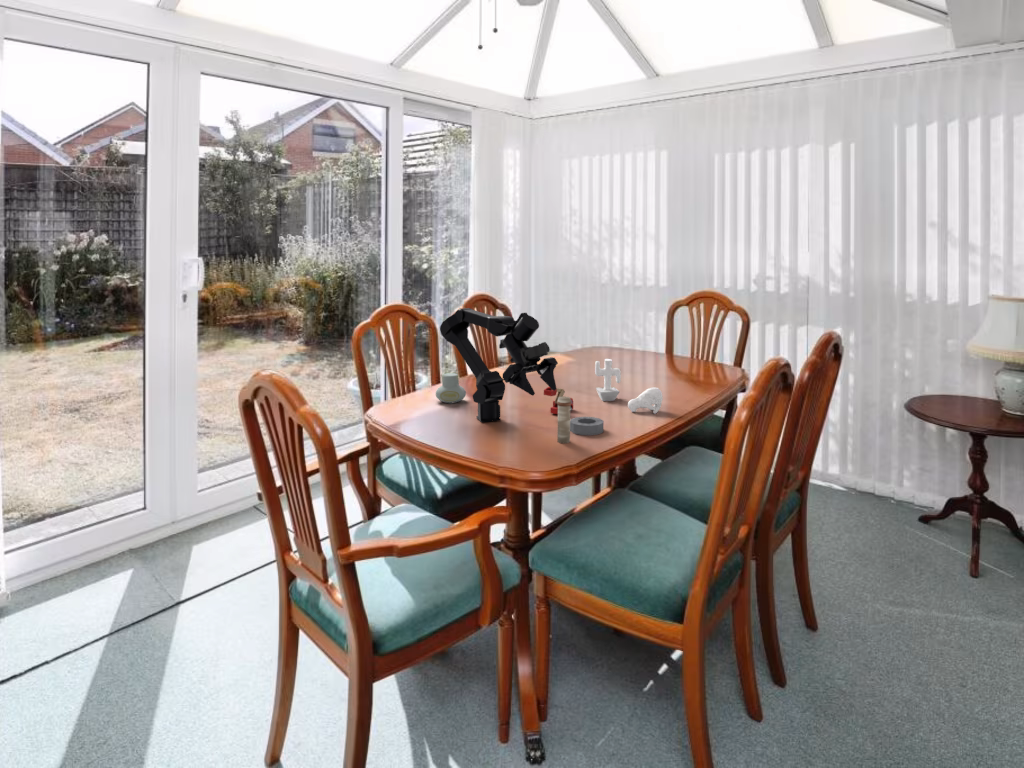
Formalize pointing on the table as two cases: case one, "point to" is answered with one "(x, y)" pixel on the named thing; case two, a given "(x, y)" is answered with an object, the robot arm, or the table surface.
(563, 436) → the birch peg
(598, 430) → the grey ring
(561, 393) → the toy fire truck
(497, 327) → the robot arm
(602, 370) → the figurine
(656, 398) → the white animal statue
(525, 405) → the table surface
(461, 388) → the air freshener
